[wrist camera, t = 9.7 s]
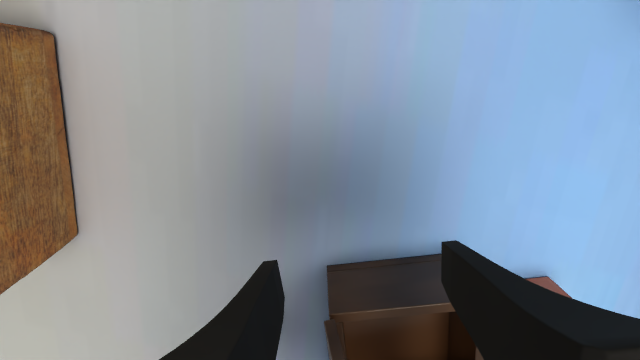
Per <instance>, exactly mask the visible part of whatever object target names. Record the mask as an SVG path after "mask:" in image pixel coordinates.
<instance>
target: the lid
mask: <svg viewBox="0 0 640 360" xmlns="http://www.w3.org/2000/svg"><path fill="white" fill-rule="evenodd" d="M324 325H325V332H326V339H327V346H328V353H329V360H345V359H344V355H343V351H342V347H341V343H340V339H339V335H338V331H337V327H336V323H335V320H334V319H331V320H326V321H324Z"/></svg>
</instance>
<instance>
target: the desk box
mask: <svg viewBox="0 0 640 360" xmlns="http://www.w3.org/2000/svg"><path fill="white" fill-rule="evenodd" d="M441 257H442V254H438V255H428V256H418V257H408V258H398V259H389V260H379V261H369V262H359V263H350V264H340V265H330V266H327V282H328V305H329V319H330V320H331V319H334V320H335V323H336V327H337V331H338V335H339V339H340V343H341V347H342V351H343V355H344V359H345V360H484V359H483V357H482V355H481V354H480V352H479V350H478V348H477V347H476V345H475V343H474V342H473V340H472V338H471V337H470V335H469V333H468V332H467V330H466V328H465V327H464V325H463V323H462V322H461V320H460V318H459V317H458V315H457V313H456V311H455V310H454V308H453V306H452V305H451V303H450V301H449V298H448V296H447V294H446V292H445V289H444V287H443V284H442V282H441Z"/></svg>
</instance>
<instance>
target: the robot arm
mask: <svg viewBox="0 0 640 360" xmlns="http://www.w3.org/2000/svg"><path fill="white" fill-rule="evenodd" d="M441 282H442V284H443V287H444V289H445V292H446V294H447V296H448V298H449V301H450V303H451V305H452V306H453V308H454V310H455V311H456V313H457V315H458V317H459V318H460V320H461V322H462V323H463V325H464V327H465V328H466V330H467V332H468V333H469V335H470V337H471V338H472V340H473V342H474V343H475V345H476V347H477V348H478V350H479V352H480V354H481V355H482V357H483V359H484V360H640V319H638V318H634V317H630V316H626V315H622V314H619V313H615V312H612V311H609V310H605V309H602V308H598V307H595V306H592V305H589V304H586V303H583V302H580V301H578V300H575V299H572V298H569V297H566V296H564V295H561V294H559V293H556V292H553V291H551V290H549V289H546V288H544V287H542V286H539V285H537V284H535V283H533V282H530V281H528V280H526V279H524V278H522V277H520V276H518V275H516V274H514V273H512V272H510V271H508V270H507V269H505V268H503V267H501V266H499V265H497V264H496V263H494V262H492V261H490V260H489V259H487V258H485V257H484V256H482V255H480V254H479V253H477V252H475V251H474V250H472V249H470V248H469V247H467V246H465V245H463V244H462V243H460V242H458V241H447V242H442V257H441ZM284 300H285V297H284V292H283V287H282V282H281V277H280V272H279V267H278V262H277V260H272V261H263V263H262V264H261V265H260V266H259V267H258V269H257V270H256V271H255V273H254V274H253V275H252V276H251V278H250V279H249V280H248V281H247V283H246V284H245V285H244V286H243V288H242V289H241V290H240V291H239V292H238V294H237V295H236V296H235V297H234V298H233V299H232V300H231V301H230V302H229V303H228V305H227V306H226V307H225V308H224V309H223V310H222V311H221V312H220V313H219V314H218V315H217V316H215V317H214V318H213V319H212V320H211V321H210V322H209V323H208V324H207V325H205V326H204V327H203V328H202V329H200V330H199V331H198V332H197V333H195V334H194V335H193V336H192V337H190V338H189V339H188V340H187V341H185V342H184V343H183V344H181V345H180V346H178V347H177V348H176V349H174V350H173V351H171V352H170V353H168V354H167V355H165V356H164V357H162V358H161V359H159V360H276V355H277V350H278V344H279V339H280V334H281V329H282V323H283V315H284Z"/></svg>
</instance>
